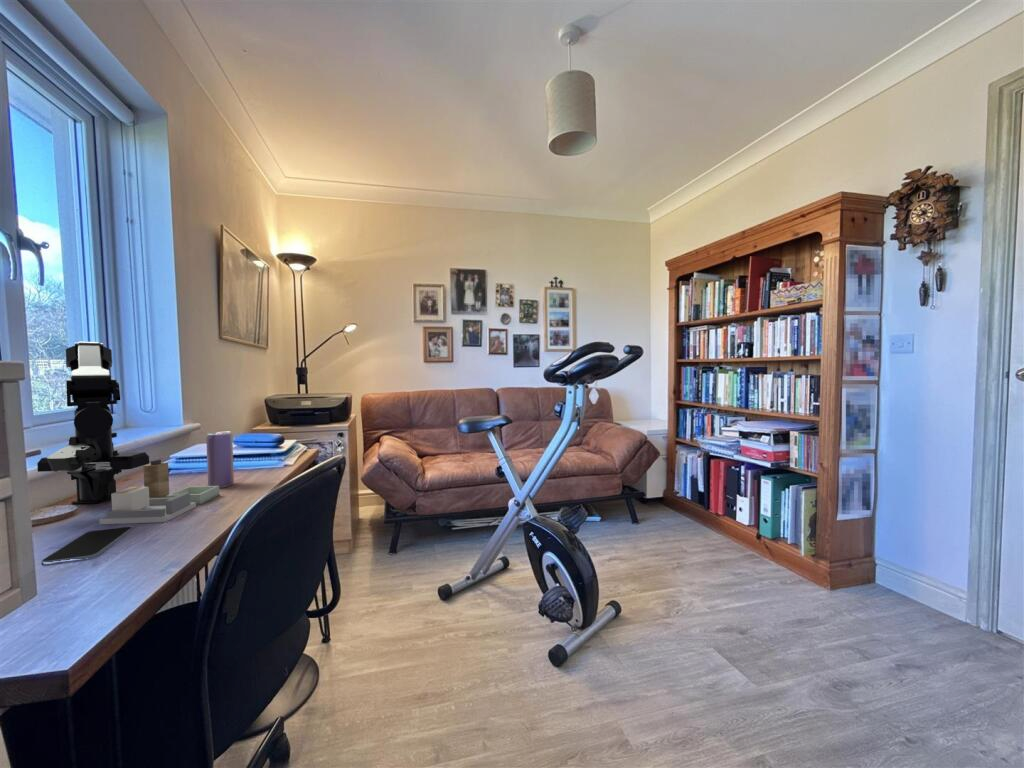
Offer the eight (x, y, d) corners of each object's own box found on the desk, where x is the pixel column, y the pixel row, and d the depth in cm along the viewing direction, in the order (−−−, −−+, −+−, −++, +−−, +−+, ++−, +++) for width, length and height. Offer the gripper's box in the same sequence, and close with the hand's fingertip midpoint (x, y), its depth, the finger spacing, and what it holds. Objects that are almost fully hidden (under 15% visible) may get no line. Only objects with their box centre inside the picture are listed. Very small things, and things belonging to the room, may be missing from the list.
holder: (167, 505, 100) (166, 495, 100) (188, 496, 108) (188, 486, 108) (200, 504, 101) (200, 494, 101) (219, 495, 109) (219, 485, 109)
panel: (99, 524, 89) (99, 505, 89) (137, 508, 99) (136, 491, 99) (165, 521, 90) (164, 503, 90) (196, 506, 100) (195, 489, 100)
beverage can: (224, 488, 114) (222, 434, 114) (202, 488, 115) (200, 434, 114) (238, 482, 120) (237, 431, 120) (218, 482, 120) (216, 431, 120)
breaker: (112, 513, 91) (111, 492, 91) (130, 506, 96) (130, 486, 96) (132, 512, 92) (131, 492, 91) (149, 505, 97) (148, 485, 96)
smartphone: (134, 525, 87) (95, 555, 73) (134, 530, 87) (95, 560, 73) (87, 531, 84) (37, 562, 70) (88, 535, 84) (37, 567, 70)
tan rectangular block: (144, 501, 104) (143, 461, 103) (155, 497, 107) (153, 458, 107) (159, 501, 104) (158, 461, 104) (169, 496, 108) (167, 458, 107)
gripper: (6, 437, 84) (11, 514, 84) (107, 435, 85) (111, 510, 86) (61, 428, 95) (64, 496, 95) (149, 427, 97) (152, 494, 97)
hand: (97, 499), depth 93 cm, fingers closed
